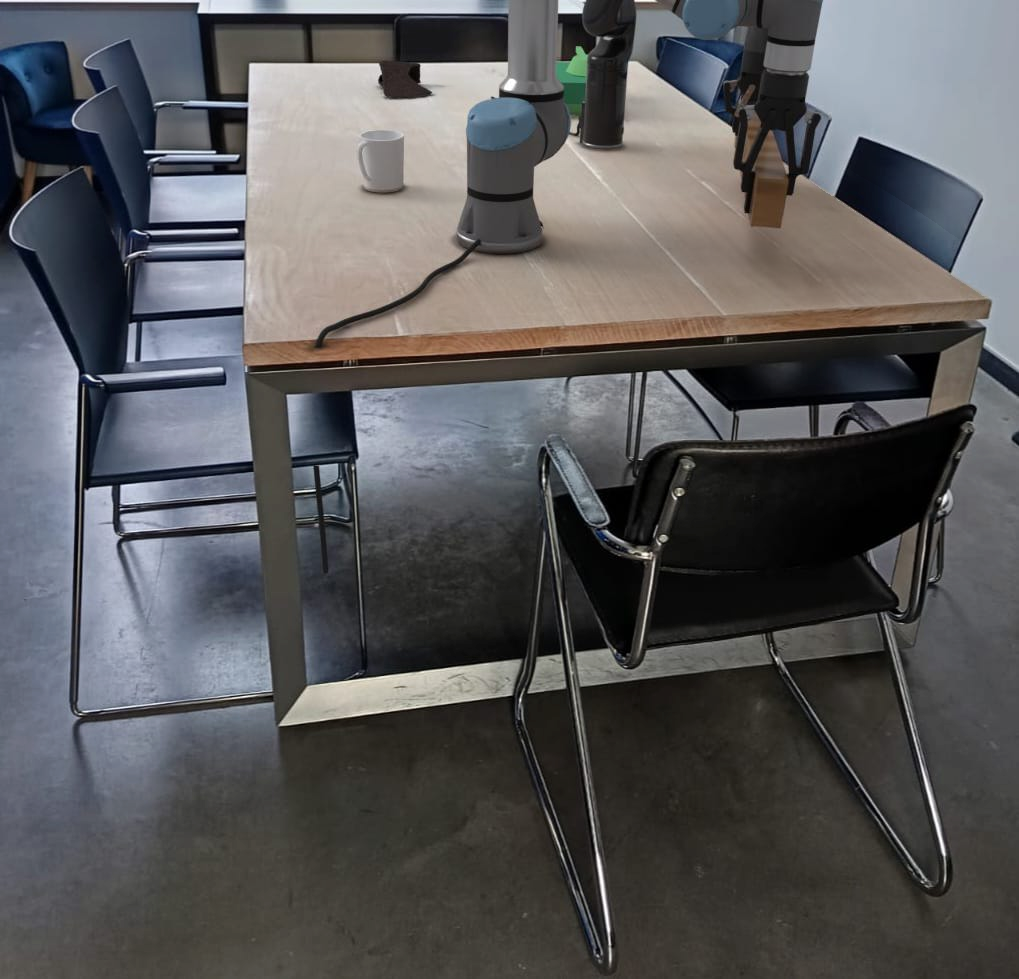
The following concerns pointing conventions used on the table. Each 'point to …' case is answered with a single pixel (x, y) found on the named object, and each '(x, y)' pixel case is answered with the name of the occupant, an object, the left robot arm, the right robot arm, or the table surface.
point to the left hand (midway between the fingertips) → (763, 211)
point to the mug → (381, 160)
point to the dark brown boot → (401, 79)
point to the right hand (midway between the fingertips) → (750, 135)
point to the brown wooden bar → (766, 179)
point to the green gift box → (573, 80)
